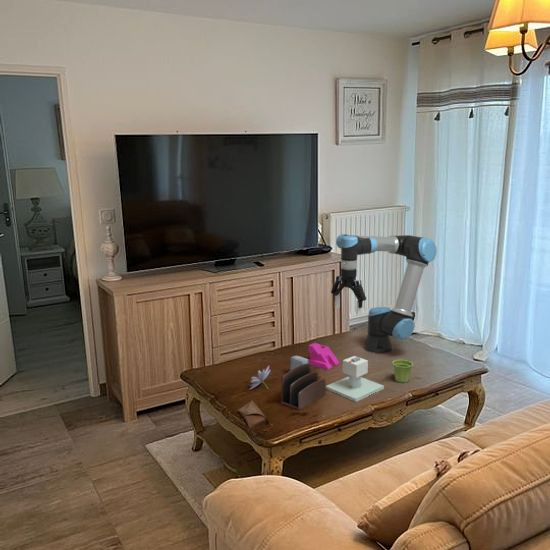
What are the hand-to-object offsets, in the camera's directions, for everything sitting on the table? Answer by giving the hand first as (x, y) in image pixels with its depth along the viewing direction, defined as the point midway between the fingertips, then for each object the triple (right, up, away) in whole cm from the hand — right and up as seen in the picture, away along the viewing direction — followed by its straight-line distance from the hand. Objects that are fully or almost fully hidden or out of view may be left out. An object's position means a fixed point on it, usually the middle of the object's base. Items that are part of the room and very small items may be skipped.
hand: (347, 311), depth 274 cm
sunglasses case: (-45, -42, -40) cm, 74 cm away
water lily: (-43, -35, -11) cm, 56 cm away
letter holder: (-23, -38, -24) cm, 50 cm away
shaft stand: (+1, -35, -14) cm, 38 cm away
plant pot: (+25, -33, -5) cm, 42 cm away
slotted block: (+1, -27, -16) cm, 32 cm away
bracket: (-10, -28, +15) cm, 34 cm away
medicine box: (-23, -31, +2) cm, 39 cm away
